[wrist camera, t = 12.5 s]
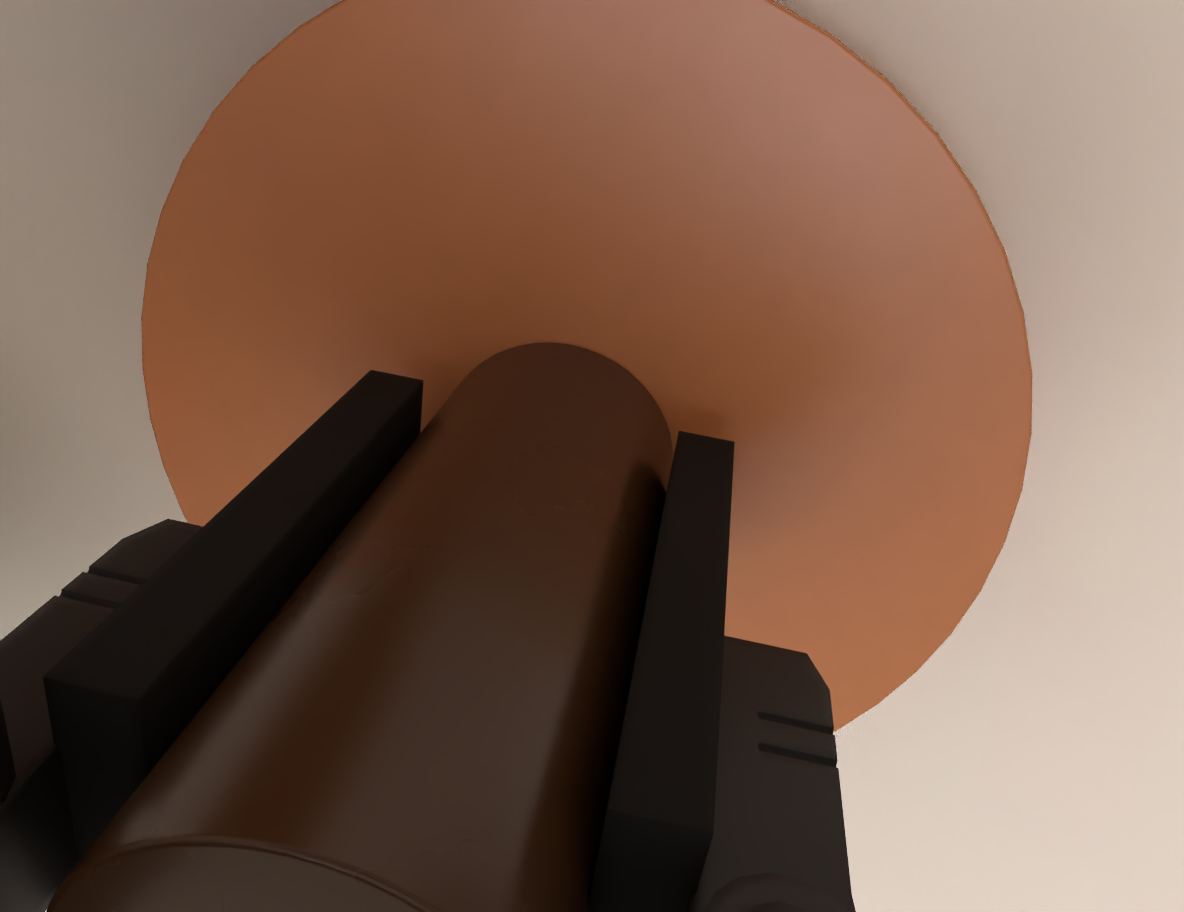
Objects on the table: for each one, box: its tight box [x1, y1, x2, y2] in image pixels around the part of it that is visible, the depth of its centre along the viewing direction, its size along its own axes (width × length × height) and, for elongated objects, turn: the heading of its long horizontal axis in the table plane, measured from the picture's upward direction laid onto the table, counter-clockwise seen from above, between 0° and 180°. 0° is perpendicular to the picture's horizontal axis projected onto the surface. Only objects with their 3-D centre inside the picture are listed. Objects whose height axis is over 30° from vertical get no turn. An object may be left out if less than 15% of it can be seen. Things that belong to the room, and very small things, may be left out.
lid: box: [47, 0, 1032, 912], centre depth 11 cm, size 14×14×10 cm
